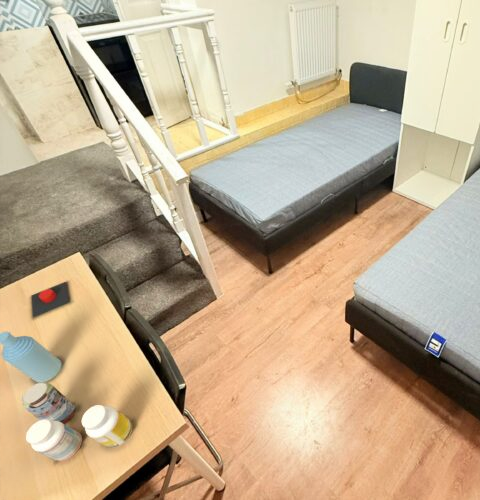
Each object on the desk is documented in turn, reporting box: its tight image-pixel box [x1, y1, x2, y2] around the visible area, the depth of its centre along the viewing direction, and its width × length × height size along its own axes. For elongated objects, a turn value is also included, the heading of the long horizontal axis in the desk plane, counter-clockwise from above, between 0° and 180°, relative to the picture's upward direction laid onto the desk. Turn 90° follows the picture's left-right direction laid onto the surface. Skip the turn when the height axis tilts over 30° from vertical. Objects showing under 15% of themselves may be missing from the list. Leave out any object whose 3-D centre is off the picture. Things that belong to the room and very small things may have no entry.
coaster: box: [31, 281, 70, 318], centre depth 109 cm, size 10×10×1 cm
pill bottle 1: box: [25, 419, 83, 462], centre depth 74 cm, size 6×6×11 cm
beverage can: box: [21, 382, 77, 425], centre depth 78 cm, size 6×7×12 cm
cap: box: [39, 288, 56, 303], centre depth 108 cm, size 4×4×2 cm
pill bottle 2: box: [81, 404, 133, 449], centre depth 75 cm, size 6×6×12 cm
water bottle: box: [0, 331, 63, 383], centre depth 85 cm, size 7×7×18 cm
